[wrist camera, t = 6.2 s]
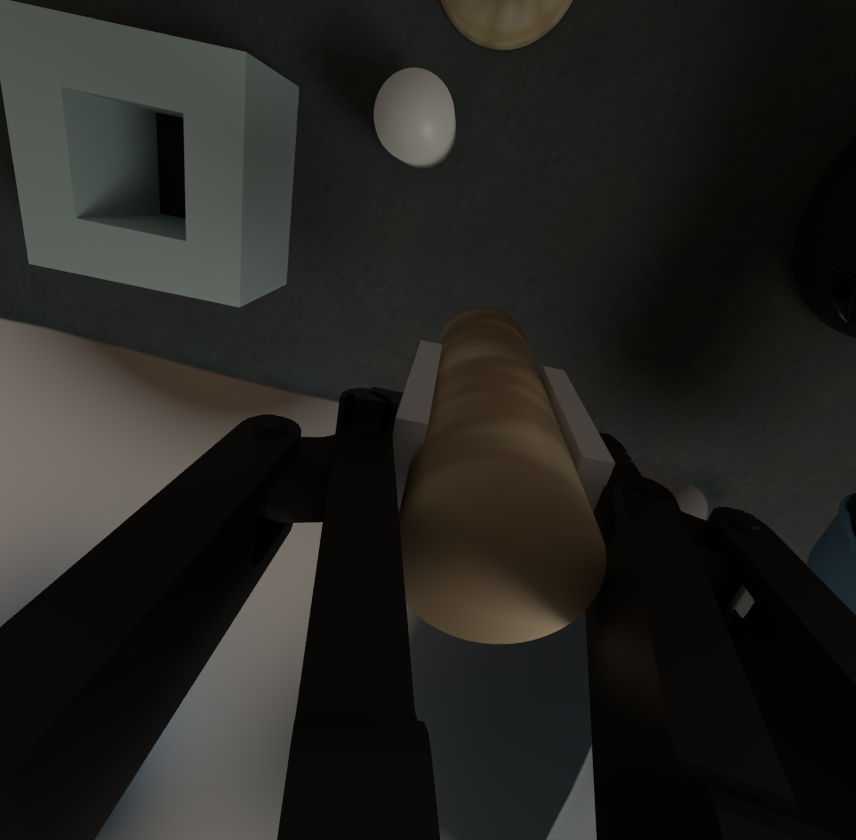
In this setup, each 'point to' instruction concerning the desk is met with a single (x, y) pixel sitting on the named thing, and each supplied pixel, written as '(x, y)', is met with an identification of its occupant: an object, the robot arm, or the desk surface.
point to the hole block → (147, 155)
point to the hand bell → (505, 20)
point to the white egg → (416, 118)
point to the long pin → (495, 497)
